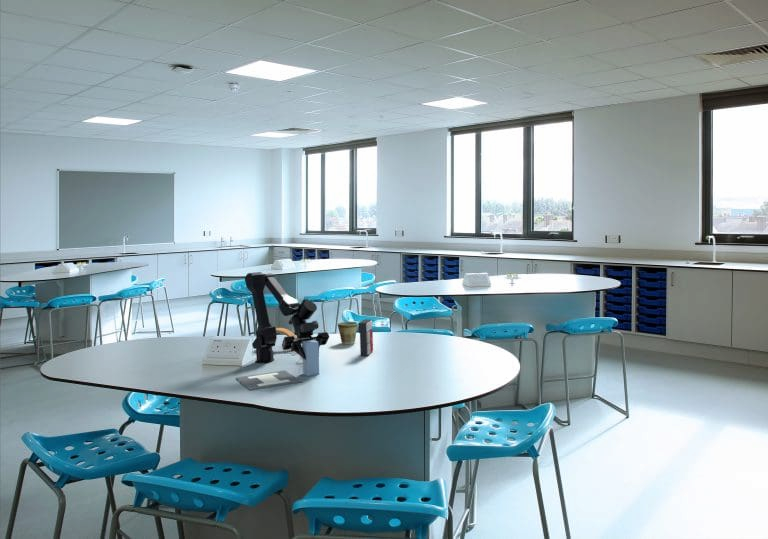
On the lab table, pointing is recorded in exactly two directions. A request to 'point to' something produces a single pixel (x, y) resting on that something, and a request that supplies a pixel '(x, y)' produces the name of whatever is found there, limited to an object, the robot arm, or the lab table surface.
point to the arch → (285, 332)
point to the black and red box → (366, 337)
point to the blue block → (310, 357)
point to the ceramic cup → (347, 332)
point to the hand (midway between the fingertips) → (311, 358)
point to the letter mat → (268, 380)
